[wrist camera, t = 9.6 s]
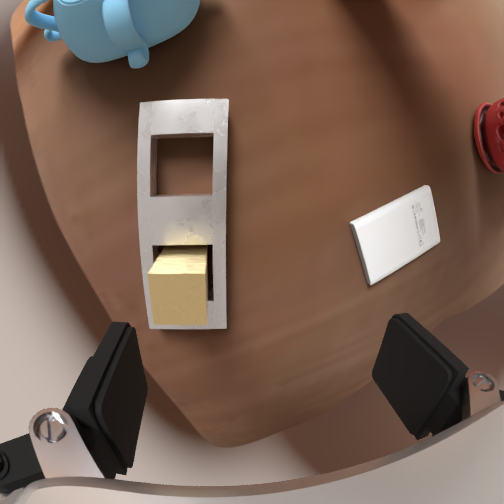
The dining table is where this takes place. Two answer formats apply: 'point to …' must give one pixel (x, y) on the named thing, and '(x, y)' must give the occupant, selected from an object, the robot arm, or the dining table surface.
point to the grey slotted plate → (183, 195)
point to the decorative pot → (113, 26)
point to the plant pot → (490, 135)
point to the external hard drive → (396, 233)
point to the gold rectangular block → (180, 285)
